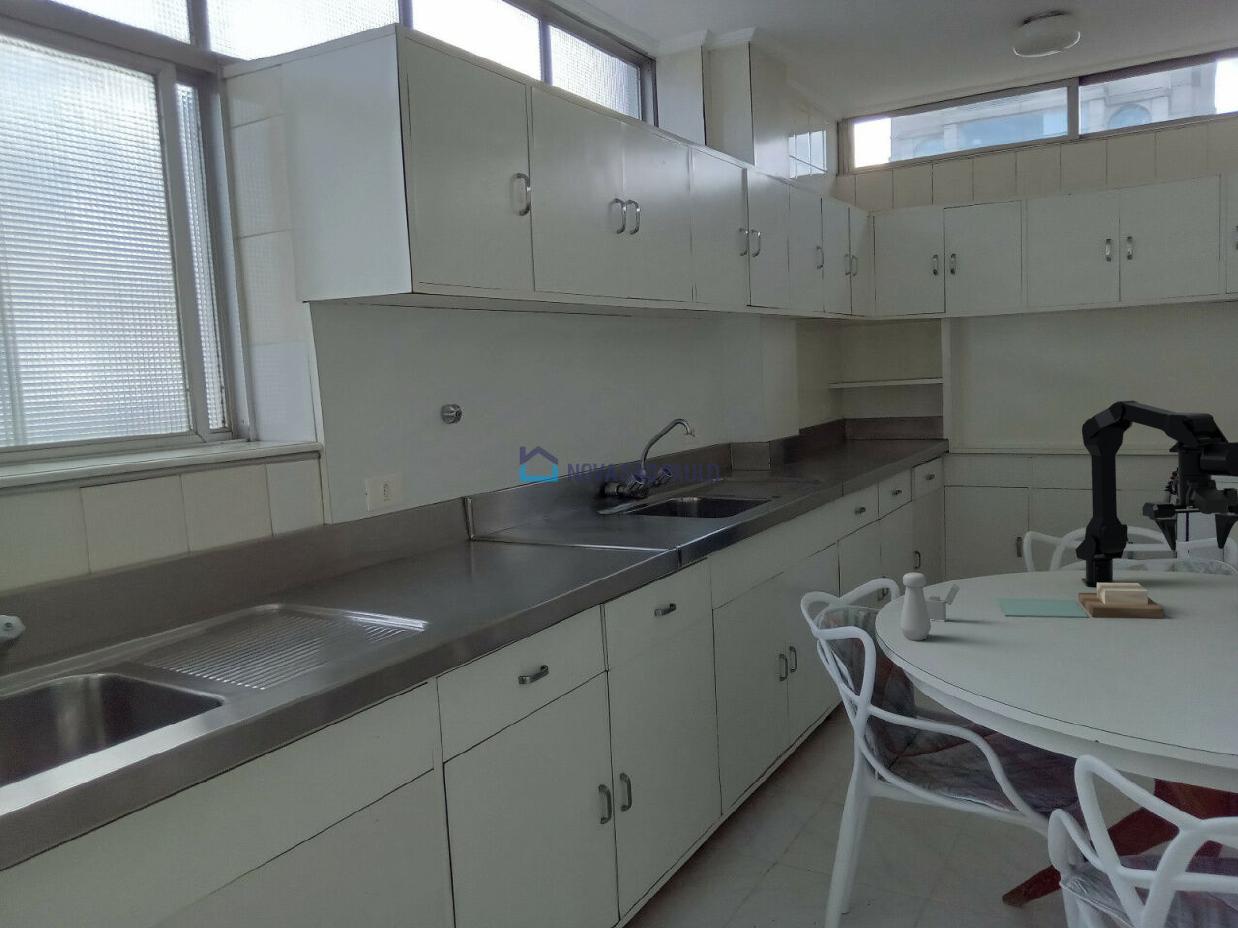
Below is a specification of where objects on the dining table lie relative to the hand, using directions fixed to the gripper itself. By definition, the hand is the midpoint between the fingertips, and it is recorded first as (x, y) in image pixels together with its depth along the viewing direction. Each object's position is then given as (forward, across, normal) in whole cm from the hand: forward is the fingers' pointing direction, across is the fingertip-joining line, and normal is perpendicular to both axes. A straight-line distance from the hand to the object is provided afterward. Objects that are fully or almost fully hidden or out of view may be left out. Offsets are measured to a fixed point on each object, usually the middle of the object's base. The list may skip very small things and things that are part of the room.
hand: (1197, 549), depth 185 cm
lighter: (+13, -52, -2) cm, 54 cm away
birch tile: (+11, -14, +4) cm, 18 cm away
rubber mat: (+12, -30, +6) cm, 33 cm away
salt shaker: (+13, -60, -14) cm, 63 cm away
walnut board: (+13, -14, +4) cm, 19 cm away
